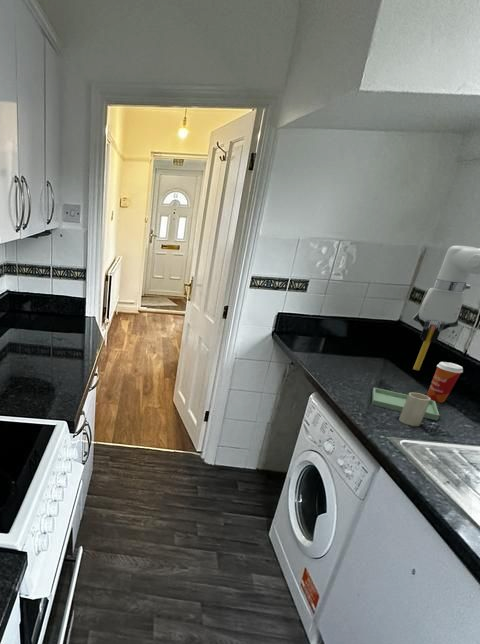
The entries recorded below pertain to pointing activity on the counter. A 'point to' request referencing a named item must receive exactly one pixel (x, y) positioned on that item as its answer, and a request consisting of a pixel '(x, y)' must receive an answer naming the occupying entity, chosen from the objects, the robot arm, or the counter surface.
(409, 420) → the pen cup
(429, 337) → the pencil
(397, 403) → the tray
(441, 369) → the paper cup
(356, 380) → the counter surface
